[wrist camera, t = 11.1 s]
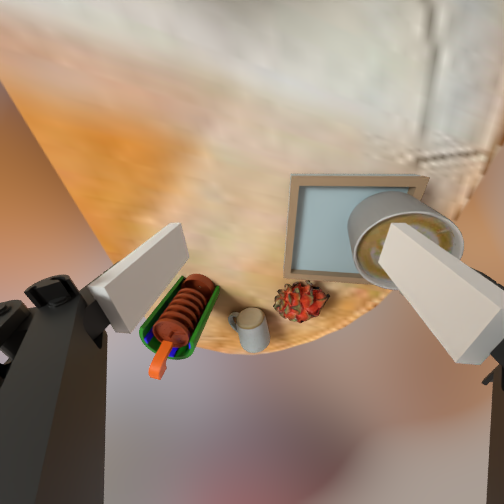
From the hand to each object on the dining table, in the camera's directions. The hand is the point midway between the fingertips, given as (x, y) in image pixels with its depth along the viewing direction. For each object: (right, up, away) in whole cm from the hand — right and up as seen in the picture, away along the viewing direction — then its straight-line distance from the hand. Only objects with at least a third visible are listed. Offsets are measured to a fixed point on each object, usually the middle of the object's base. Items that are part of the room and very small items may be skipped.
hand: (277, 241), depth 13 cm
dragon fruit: (+9, -9, +32) cm, 34 cm away
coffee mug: (+19, +2, +18) cm, 26 cm away
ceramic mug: (-2, -18, +38) cm, 42 cm away
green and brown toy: (-15, -10, +36) cm, 40 cm away
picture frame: (+14, +4, +23) cm, 27 cm away
